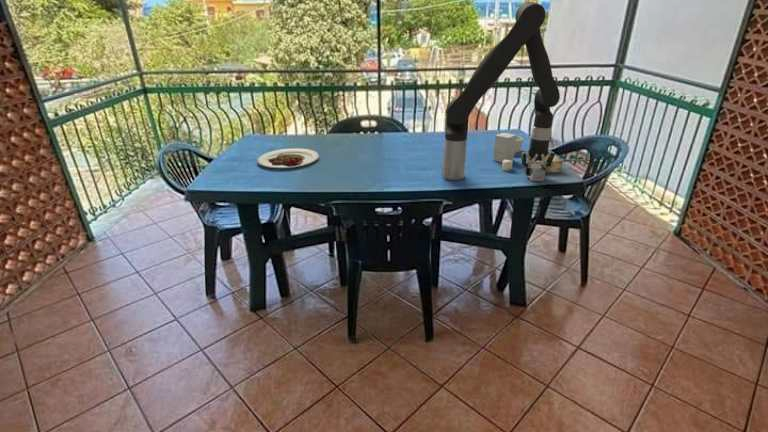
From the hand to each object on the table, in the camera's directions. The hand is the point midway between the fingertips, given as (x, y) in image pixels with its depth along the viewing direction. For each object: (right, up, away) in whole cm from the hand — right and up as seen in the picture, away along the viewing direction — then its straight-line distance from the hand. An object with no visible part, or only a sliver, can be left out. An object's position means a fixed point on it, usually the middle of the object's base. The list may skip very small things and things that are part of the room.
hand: (534, 175), depth 178 cm
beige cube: (-9, +4, +10) cm, 14 cm away
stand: (+8, +4, +10) cm, 14 cm away
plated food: (-113, +10, +27) cm, 117 cm away
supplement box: (-7, +9, +22) cm, 25 cm away
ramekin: (-1, +16, +35) cm, 39 cm away
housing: (0, -1, 0) cm, 1 cm away
